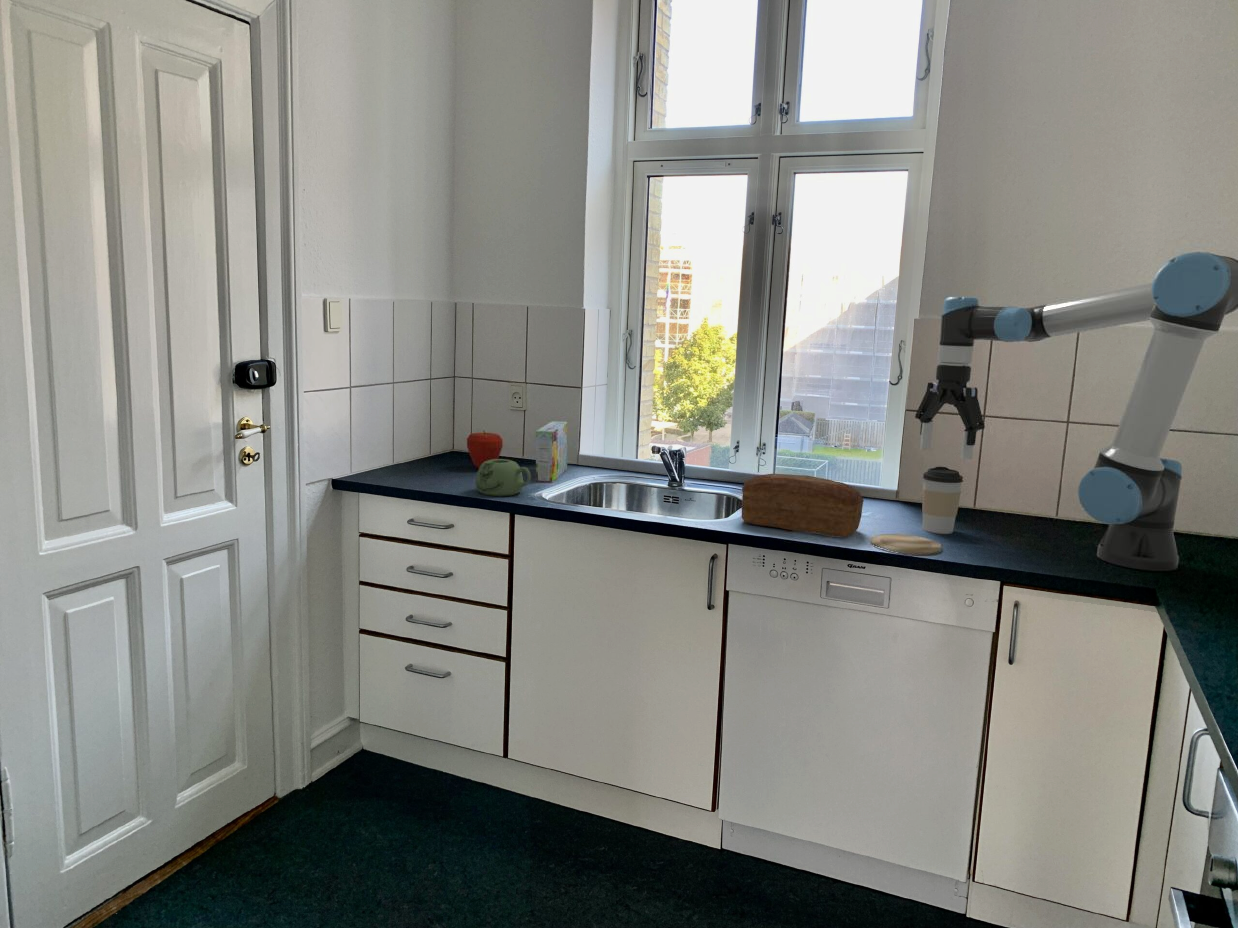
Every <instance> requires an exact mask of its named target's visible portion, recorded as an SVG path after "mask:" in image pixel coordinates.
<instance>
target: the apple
mask: <svg viewBox="0 0 1238 928" xmlns="http://www.w3.org/2000/svg"><path fill="white" fill-rule="evenodd" d="M503 444H504V443H503V438H502V437H501V435H500V434H497V433H493V432H485V430H483V432H474V433H470V434H469V435H468V437H467V438H466V447H467V450H468V453H469V456H470V458H471V461H472V463H473V465H474V466H475V467H476V468H477V470H479V468H480V466H481V465H482V464H483V463H484V462H485V461H488V460H492V459H499V457H500V455H501V453H502V449H503V447H504V445H503Z"/></svg>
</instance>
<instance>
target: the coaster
mask: <svg viewBox="0 0 1238 928" xmlns="http://www.w3.org/2000/svg"><path fill="white" fill-rule="evenodd" d="M870 544H871V546H873V545H874V546H877V547H880V548H883V549H886V550H889V551H893V552H898V553H903V554H902V555H906V554H911V555H910V556H932V555H937V554H939V553H941V551H942V545H941V543H940V542H938V541H935V540H933V539H930V538H926V537H923V536H922V537H921V536H917V535H910V534H901V533H883V534H877V535H873V536H872V537H870ZM874 546H873V547H874ZM893 552H892V553H893ZM898 553H897V554H898Z"/></svg>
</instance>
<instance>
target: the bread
mask: <svg viewBox="0 0 1238 928" xmlns="http://www.w3.org/2000/svg"><path fill="white" fill-rule="evenodd" d="M741 492H742V496H741V497H742V498H741V519H742V520H743V522H745V523H748V524H751V525H755V526H756V525H757V526H764V527H765V526H766V527H772V528H778V529H784V530H789V531H796V532H805V533H806V532H807V533H812V534H818V535H824V536H828V537H837V538H843V537H844V538H845V537H850V536H851V535H853V534H854V533H855V532H856V531H858V529H859V526H860V522H861V519H862V513H863V505H864V501H865V499H864V498H863V497H862V495H861V493H860V492H859V490H857V489H855V488H854V487H852V486H851V485H849V484H847V483H844V482H841V481H836V480H832V479H829V478H821V477H817V476H813V475H807V474H806V475H805V474H803V475H802V474H784V473H767V474H760V475H754V476H752V477H750V478H748V479H747V480H746V481H745V482H744V483H743V485H742V487H741Z"/></svg>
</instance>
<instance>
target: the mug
mask: <svg viewBox="0 0 1238 928" xmlns="http://www.w3.org/2000/svg"><path fill="white" fill-rule="evenodd" d="M477 470H478V471H477V473H476V478H475V486H476V490H477V491H478V492H479V493H481V494H483V495H486V496H492V497H493V496H494V497H505V496H514V495H517V494H519V493H520V492H522V491H523V488H524V487H526V486H527V485H528V484H530V482H531V479H532V477H531V472H530V469H528V467H526V466H521V467H520V465H519V464H518V463H517V461H513V460H511V459H506V458H505V459H504V458H498V459H492V460H488V461H485V462H484V463H483V464H482V465H481V466H480V468H479V469H477ZM523 472H525V473H526V477H527V479H526V480H525V481H524V478H523Z"/></svg>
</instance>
